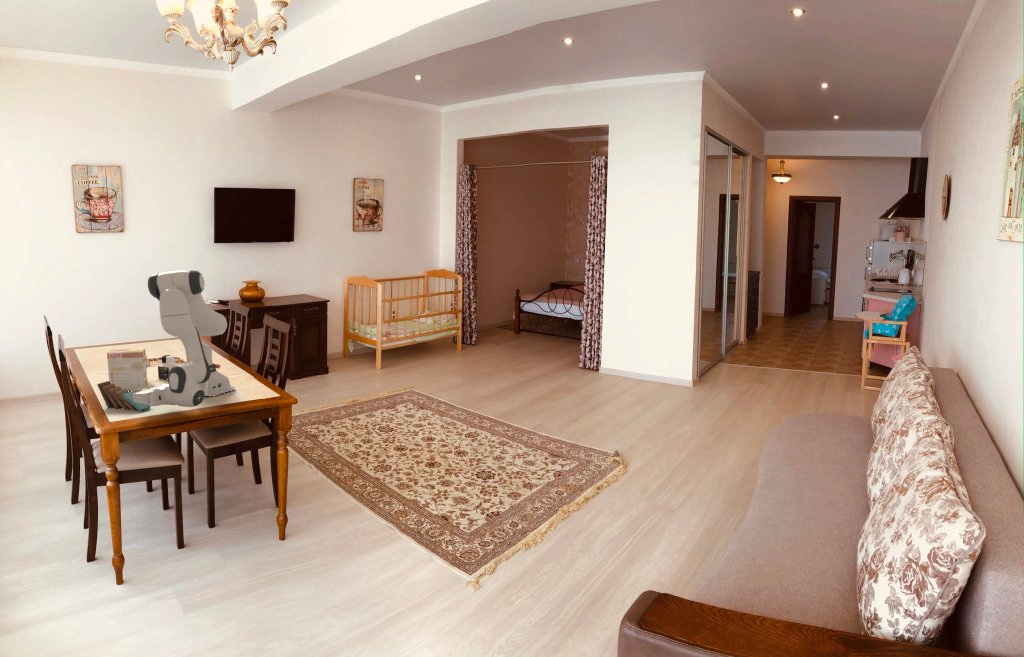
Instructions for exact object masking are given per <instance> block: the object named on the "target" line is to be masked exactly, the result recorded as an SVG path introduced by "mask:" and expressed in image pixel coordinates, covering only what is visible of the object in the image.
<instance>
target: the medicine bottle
mask: <svg viewBox="0 0 1024 657" xmlns="http://www.w3.org/2000/svg"><path fill="white" fill-rule="evenodd" d="M178 365H180V364H179V363H176V358H175V355H173V354H166V355H163V356H161V364H158V365H157V376H158V379H159V378H161V379H160V380H163V379H168V374H169V371H170V369H171V368H172V367H174V366H178Z"/></svg>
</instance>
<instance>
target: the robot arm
mask: <svg viewBox="0 0 1024 657" xmlns="http://www.w3.org/2000/svg"><path fill="white" fill-rule="evenodd" d="M204 278H205V277H204V276H203V274H202V273H201V272H200V271H199V270H193V269H192V270H191V269H190V270H174V271H168V272H161V273H159V272H158V273H154V274H151V275H149V277H148V279H147V289H148V292H149V294H150V295H151V296H152V297H153V298H154V299H155V298H156V299H157V301H159V304H158V305H159V317H160V323H161V327H162V329H163V330H164V332H165V333H167V334H168V335H170V336H172V337H176V338H178V339H179V340H180V342H181V343H182V346H183V347H184V350H185V358H186V363H182V364H179V365H178V366H174V367H172V368H171V369H170V371H169V374H168V380H167V381H168V382H167V383H163V384H160V385H157V386H154V387H151V388H150V387H149V388H144V389H141V390H139V391H136V392H134V394H133V401H134V402H136V403H140V404H149V405H150V406H151V407H158V406H163V405H164V406H179V407H182V408H183V407H184V408H185V407H186V408H193V407H198V406H199V405H201V404H202V403H203V401H204V398H205V397H204V396H213V397H215V396H214V395H217V396H219V395H218V394H220V395H222V394H221V393H224V394H226V393H225V392H227V393H229V392H228V391H231V392H233V391H232V390H234V391H236V386H233V385H231V383H230V382H231V381H230V379H229V377H228V376H227V375H224V373H222V372H219V371H218V370H217V369H220V368H221V364H220V363H219V364H218V363H216V364H215V363H213V349H212V347H211V346H210V345H209V344H208V343H206V342H204V341H203V340H201V337H215V336H219V335H223V334H224V333H225V332H226V330H227V328H228V322H227V318H226V317H225V316H224V315H223V314H222V313H219V312H217V311H215V310H214V309H213V308H211V307H210V305H208V304H207V303H206V301H205V300H204V298H203V295H202V292H203V291H204V290H205V284H206V283H205V282H206V281H205V279H204Z"/></svg>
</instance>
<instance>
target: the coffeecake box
mask: <svg viewBox="0 0 1024 657" xmlns="http://www.w3.org/2000/svg"><path fill="white" fill-rule="evenodd" d="M106 356H107V358H106V359H107V371H108V381H110V383H111V384H112V383H114V385H115V386H116V387H118V386H119V387H120V388H121V389H122V390H123V389H126V390H127V391H134V392H139V390H141V389H144V388H147V389H148V386H149V385H148V384H149V383H148V372H147V371H148V370H147V369H148V367H147V368H146V356H147V353H146V348H134V349H133V348H132V349H131V348H130V349H129V348H128V349H110V350H109V351H107V353H106Z"/></svg>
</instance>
